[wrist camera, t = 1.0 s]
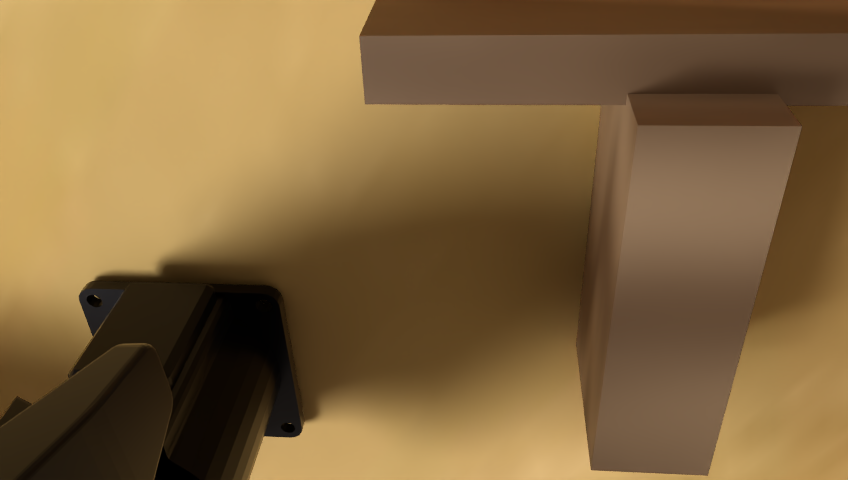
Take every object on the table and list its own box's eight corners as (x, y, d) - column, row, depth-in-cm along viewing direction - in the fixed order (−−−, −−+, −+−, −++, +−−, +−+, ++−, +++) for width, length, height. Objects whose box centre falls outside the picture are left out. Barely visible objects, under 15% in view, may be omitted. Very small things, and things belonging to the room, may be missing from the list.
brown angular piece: (854, 351, 23) (930, 486, 19) (404, 337, 25) (385, 460, 20) (997, -20, 17) (1156, 61, 13) (382, -13, 18) (346, 63, 14)
